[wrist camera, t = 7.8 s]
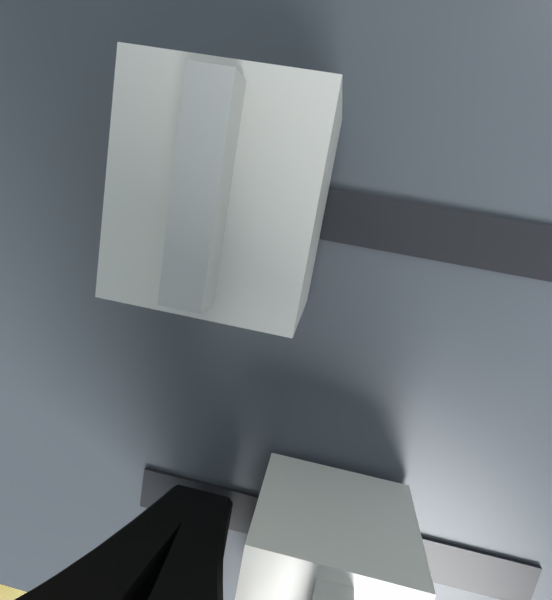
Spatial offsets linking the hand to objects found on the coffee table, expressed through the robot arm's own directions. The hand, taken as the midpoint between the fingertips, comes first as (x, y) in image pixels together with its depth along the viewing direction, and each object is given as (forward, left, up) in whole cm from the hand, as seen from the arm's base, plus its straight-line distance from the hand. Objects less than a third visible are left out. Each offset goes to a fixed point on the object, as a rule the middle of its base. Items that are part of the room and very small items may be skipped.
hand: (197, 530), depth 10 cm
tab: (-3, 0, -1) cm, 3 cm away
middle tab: (0, -7, -1) cm, 7 cm away
